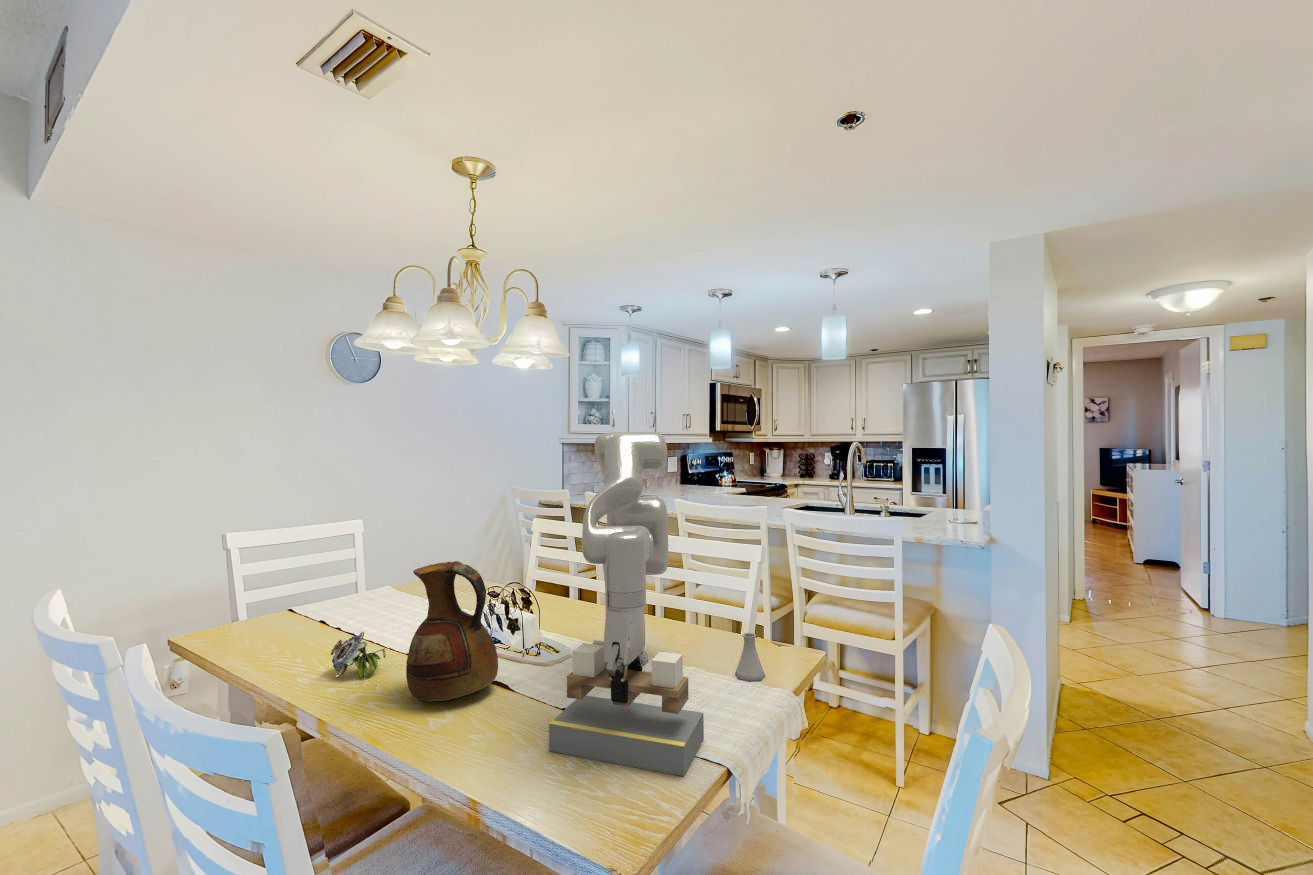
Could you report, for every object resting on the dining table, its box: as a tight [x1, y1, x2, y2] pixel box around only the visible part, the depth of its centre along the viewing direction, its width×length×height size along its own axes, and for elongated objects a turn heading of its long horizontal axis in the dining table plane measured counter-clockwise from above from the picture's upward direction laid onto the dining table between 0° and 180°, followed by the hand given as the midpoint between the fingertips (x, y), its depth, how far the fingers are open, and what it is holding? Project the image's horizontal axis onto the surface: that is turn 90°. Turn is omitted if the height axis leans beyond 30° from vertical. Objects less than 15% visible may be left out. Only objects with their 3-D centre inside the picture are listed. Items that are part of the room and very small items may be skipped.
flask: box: [734, 632, 766, 682], centre depth 140 cm, size 7×7×10 cm
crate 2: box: [651, 651, 684, 688], centre depth 106 cm, size 4×4×4 cm
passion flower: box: [330, 631, 387, 679], centre depth 144 cm, size 11×11×12 cm
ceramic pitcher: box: [405, 560, 499, 702], centre depth 132 cm, size 20×20×30 cm
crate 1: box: [572, 642, 605, 677], centre depth 111 cm, size 4×4×4 cm
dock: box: [548, 694, 705, 777], centre depth 108 cm, size 26×13×5 cm, turn 71°
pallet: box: [566, 666, 690, 714], centre depth 108 cm, size 22×6×4 cm, turn 71°
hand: (627, 692), depth 108 cm, fingers closed on pallet, 6 cm apart
